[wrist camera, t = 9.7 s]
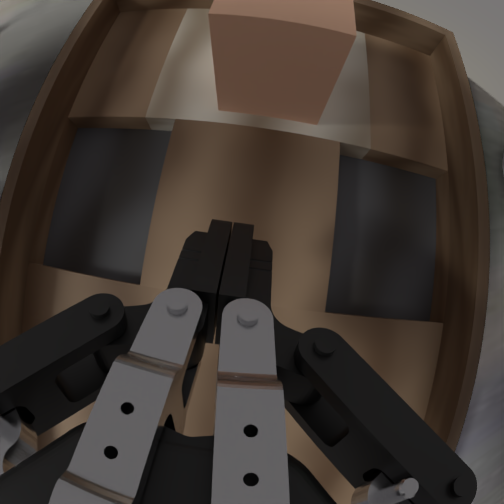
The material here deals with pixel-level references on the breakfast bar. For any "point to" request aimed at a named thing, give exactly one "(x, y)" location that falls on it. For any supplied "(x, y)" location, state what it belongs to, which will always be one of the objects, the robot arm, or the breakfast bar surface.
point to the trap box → (262, 199)
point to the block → (279, 55)
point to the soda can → (503, 163)
